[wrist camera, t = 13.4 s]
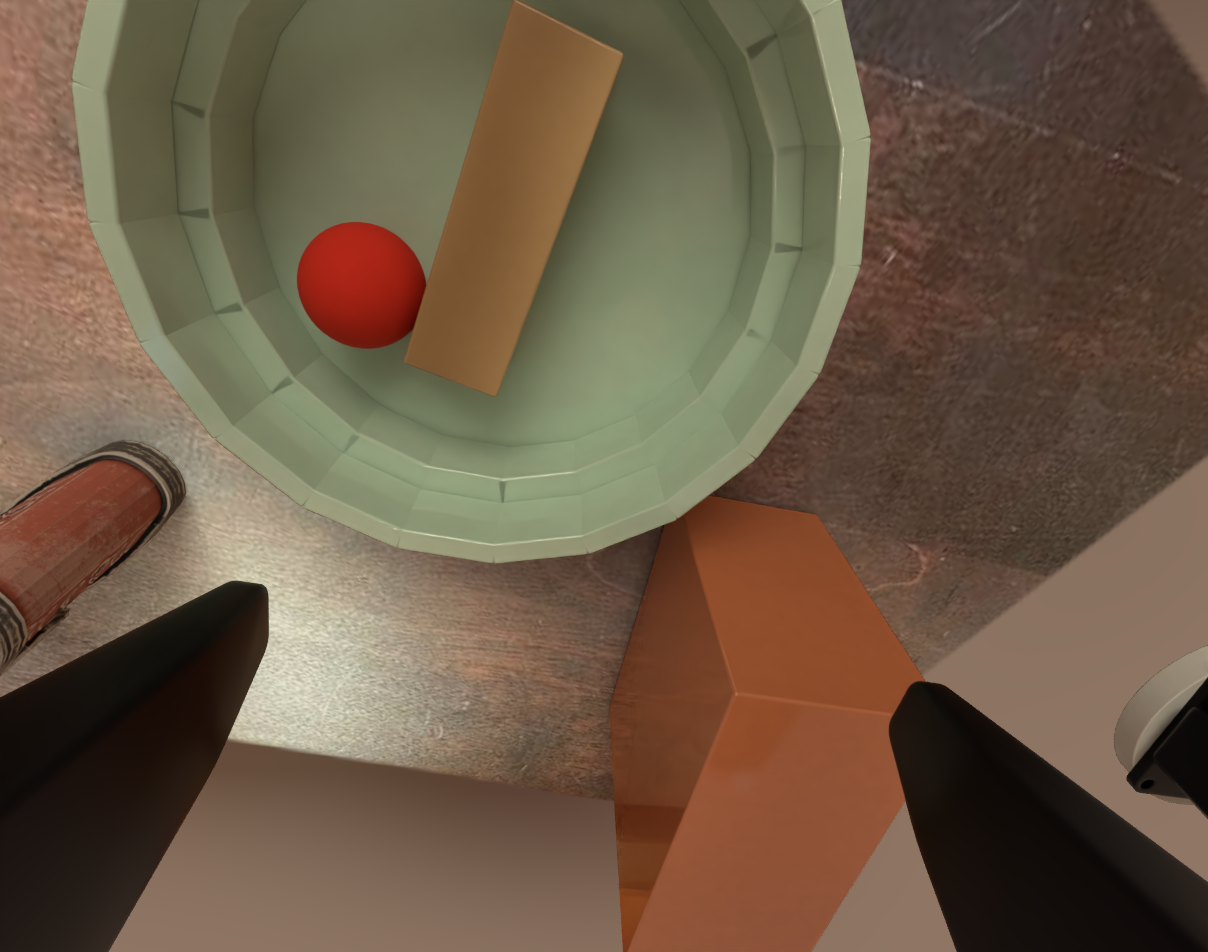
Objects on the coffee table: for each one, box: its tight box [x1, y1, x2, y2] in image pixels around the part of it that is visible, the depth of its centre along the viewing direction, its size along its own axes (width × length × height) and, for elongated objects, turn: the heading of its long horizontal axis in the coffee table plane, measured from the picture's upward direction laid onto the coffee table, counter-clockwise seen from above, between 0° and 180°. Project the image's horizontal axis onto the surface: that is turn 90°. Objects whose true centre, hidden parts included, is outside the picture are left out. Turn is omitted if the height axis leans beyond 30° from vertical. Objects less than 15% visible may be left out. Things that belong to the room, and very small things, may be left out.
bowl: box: [71, 0, 871, 564], centre depth 15 cm, size 15×15×5 cm
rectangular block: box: [609, 495, 926, 952], centre depth 20 cm, size 5×10×9 cm, turn 168°
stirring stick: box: [404, 0, 624, 397], centre depth 16 cm, size 2×8×3 cm, turn 157°
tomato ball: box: [297, 222, 426, 349], centre depth 16 cm, size 3×3×3 cm
